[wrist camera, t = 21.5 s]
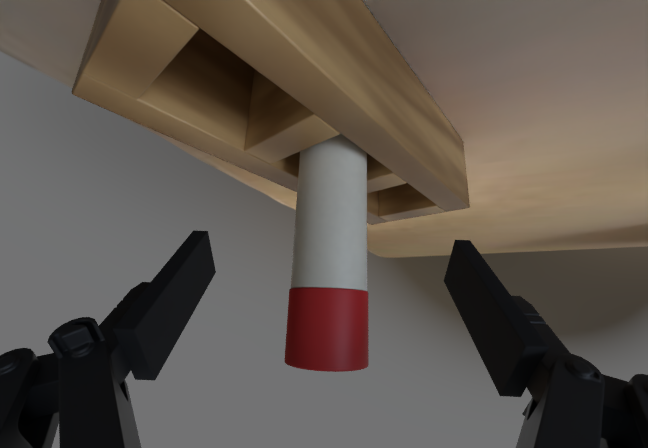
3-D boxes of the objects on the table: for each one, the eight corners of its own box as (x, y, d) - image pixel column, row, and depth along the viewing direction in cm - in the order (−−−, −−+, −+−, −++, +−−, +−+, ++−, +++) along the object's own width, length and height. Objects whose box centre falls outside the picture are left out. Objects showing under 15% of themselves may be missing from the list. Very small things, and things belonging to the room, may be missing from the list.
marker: (341, 48, 14) (332, 376, 10) (379, 90, 17) (384, 365, 13) (290, 82, 16) (266, 361, 12) (331, 114, 19) (322, 354, 15)
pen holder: (201, -226, 7) (160, -80, 6) (463, 141, 21) (470, 208, 20) (105, -13, 12) (70, 94, 10) (371, 169, 26) (371, 225, 25)
